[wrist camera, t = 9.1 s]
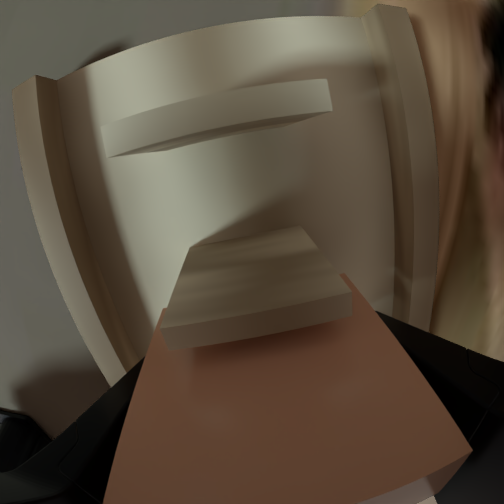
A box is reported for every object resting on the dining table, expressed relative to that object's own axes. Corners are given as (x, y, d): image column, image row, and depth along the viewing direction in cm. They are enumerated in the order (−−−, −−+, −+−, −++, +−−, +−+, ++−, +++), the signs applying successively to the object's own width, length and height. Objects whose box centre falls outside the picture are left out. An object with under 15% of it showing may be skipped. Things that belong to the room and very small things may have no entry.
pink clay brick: (180, 354, 10) (152, 542, 3) (162, 308, 9) (100, 514, 3) (346, 323, 10) (438, 493, 3) (344, 273, 9) (473, 450, 3)
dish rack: (175, 434, 16) (165, 515, 10) (49, 95, 9) (-56, 84, 3) (389, 393, 16) (427, 466, 10) (374, 29, 9) (465, -25, 3)
